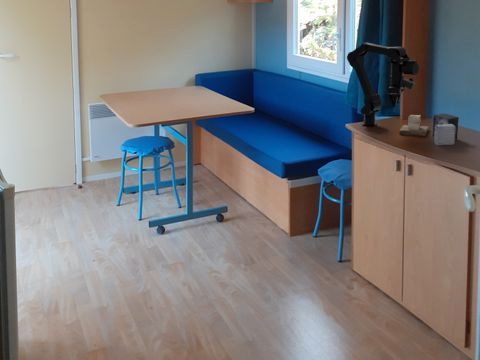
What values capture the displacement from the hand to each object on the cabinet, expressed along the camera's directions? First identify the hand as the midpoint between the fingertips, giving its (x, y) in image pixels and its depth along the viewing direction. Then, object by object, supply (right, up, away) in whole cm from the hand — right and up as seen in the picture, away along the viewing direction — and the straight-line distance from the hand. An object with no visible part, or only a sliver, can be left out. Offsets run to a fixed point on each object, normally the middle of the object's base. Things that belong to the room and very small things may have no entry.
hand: (395, 105), depth 311 cm
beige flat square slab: (+8, -14, -5) cm, 16 cm away
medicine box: (+15, -21, -27) cm, 37 cm away
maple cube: (+8, -12, -5) cm, 15 cm away
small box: (+19, -17, -16) cm, 30 cm away
